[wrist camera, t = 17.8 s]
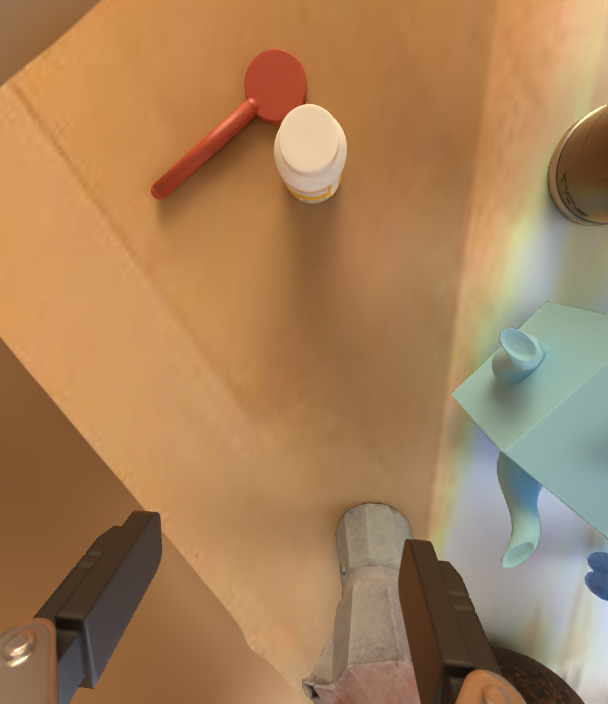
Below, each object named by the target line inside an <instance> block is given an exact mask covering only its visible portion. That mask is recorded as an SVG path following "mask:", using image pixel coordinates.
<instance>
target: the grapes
mask: <svg viewBox="0 0 608 704" xmlns="http://www.w3.org/2000/svg"><path fill="white" fill-rule="evenodd" d="M587 559H588V565H589V566H590V567H591V568H592V570H593V572H589V573H588V574H587V575H586V576H585V583H586V585H587V587H588V588H589V589H590V591H591V592H593V593H594V594H595V595H597V596H598V597H599V598H601V599H603V600H606V601H608V553H605V552H595V553H592V554H590V555H589V557H588V558H587Z"/></svg>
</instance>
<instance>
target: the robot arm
mask: <svg viewBox="0 0 608 704" xmlns="http://www.w3.org/2000/svg"><path fill="white" fill-rule="evenodd" d="M549 189H550V193H551V196H552V199H553V201H554V203H555V205H556V206H557V208H558V209H559V210H560V211H561V212H562V213H563V214H564V215H565V216H566V217H567V218H569V219H571V220H572V221H574V222H577V223H580V224H584V225H591V226H598V225H608V104H607V105H604V106H602V107H600V108H598V109H596V110H594V111H592V112H591V113H589V114H587V115H585V116H584V117H582V118H581V119H580V120H578V121H577V122H576V123H575V124H574V125H573V126H572V127H571V128H570V129H569V130H568V131H567V132H566V133H565V135H564V136H563V137H562V139H561V140H560V142H559V144H558V145H557V147H556V149H555V152H554V154H553V157H552V160H551V163H550V168H549ZM161 556H162V539H161V521H160V514H159V513H158V512H149V511H139V510H135V511H134V512H132V514H131V515H130V516H129V517H128V519H127V520H126V522H125V523H124V524H123V525H122V527H121V526H113V527H112V528H110V529H109V530H108V531H106V532H105V533H104V534H102V535H101V536H99V537H98V538H97V539H96V541H95V542H94V543H93V544H92V546H91V547H90V548H89V550H88V551H87V552H86V555H84V556H83V557H82V558H81V559H80V561H79V562H78V563H77V565H76V567H74V568H73V570H72V571H71V572H70V573H69V574H68V576H67V577H66V578H65V579H64V580H63V582H62V583H61V584H60V585H59V587H58V588H57V589H56V590H55V592H54V593H53V594H52V595H51V597H50V598H49V599H48V601H47V602H46V603H45V604H44V605H43V607H42V608H41V609H40V610H39V611H38V613H37V614H36V615H35V616H34V617H33V618H32V619H28V620H25V621H23V622H20V623H18V624H16V625H14V626H12V627H11V628H9V629H8V630H6V631H5V632H3V633H2V634H1V635H0V704H69V702H70V701H71V699H72V697H73V695H74V694H75V692H76V690H77V689H78V687H83V688H91V689H94V687H95V686H96V684H97V682H98V680H99V678H100V676H101V674H102V672H103V671H104V669H105V667H106V665H107V663H108V661H109V659H110V658H111V655H112V654H113V652H114V650H115V648H116V646H117V644H118V643H119V641H120V639H121V637H122V635H123V633H124V631H125V629H126V627H127V626H128V624H129V622H130V620H131V618H132V617H133V615H134V613H135V611H136V609H137V607H138V605H139V603H140V601H141V600H142V598H143V596H144V594H145V592H146V590H147V588H148V586H149V585H150V583H151V581H152V579H153V577H154V575H155V574H156V571H157V569H158V567H159V564H160V560H161ZM398 593H399V600H400V605H401V610H402V615H403V620H404V625H405V630H406V635H407V640H408V644H409V649H410V654H411V659H412V664H413V669H414V674H415V679H416V684H417V688H418V693H419V698H420V703H421V704H526V702H525V700H524V699H523V697H522V696H521V694H520V693H519V692H518V691H517V690H516V688H515V687H514V686H513V685H511V684H510V683H509V682H508V681H507V680H506V679H504V677H503V676H502V674H501V672H500V669H499V667H498V665H497V662H496V660H495V657H494V655H493V652H492V650H491V647H490V645H489V643H488V640H487V638H486V635H485V633H484V630H483V628H482V625H481V623H480V621H479V618H478V616H477V613H475V608H474V606H473V603H472V601H471V599H470V598H469V594H468V591H467V589H466V586H465V584H464V582H463V579H462V577H461V576H460V574H459V573H458V572H457V571H456V570H455V568H454V567H453V566H452V565H451V564H450V562H448V561H438V559H437V556H436V553H435V551H434V548H433V545H432V543H431V542H430V541H425V540H415V539H405V542H404V547H403V553H402V558H401V564H400V570H399V576H398Z"/></svg>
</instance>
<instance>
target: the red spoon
mask: <svg viewBox="0 0 608 704" xmlns="http://www.w3.org/2000/svg"><path fill="white" fill-rule="evenodd" d="M306 91H307V87H306V78H305V74H304V71H303V68H302V66H301V64H300V63H299V61H298V60H297V59H296V58H295V57H294V56H293V55H292V54H290V53H289V52H287V51H284V50H281V49H270V50H266V51H264V52H262V53H260V54H259V55H258V56H257V57H256V58H255V59H254V60H253V61H252V62H251V64H250V66H249V67H248V70H247V73H246V76H245V94H246V97H247V100H246V101H244V102H243V103H242V104H241V105H240V106H239V107H238V108H237V109H236V110H235V111H233V112H232V113H231V114H230V115H229V116H228V117H227V118H226V119H225V120H224V121H223V122H221V123H220V124H219V125H218V126H217V127H216V128H215V129H214V130H213V131H212V132H210V133H209V134H208V135H207V136H206V137H205V138H204V139H203V140H202V141H201V142H199V143H198V144H197V145H196V146H195V147H194V148H193V149H192V150H191V151H190V152H189V153H187V154H186V155H185V156H184V157H183V158H182V159H181V160H180V161H179V162H178V163H176V164H175V165H174V166H173V167H172V168H171V169H170V170H169V171H168V172H167V173H166V174H164V175H163V176H162V177H161V178H160V179H159V180H158V181H157V182H156V183H155V184H153V186H152V187H151V193H152V195H153V196H154V197H155V198H156V199H159V200H162V199H164V198H166V197H167V196H168V195H169V194H170V193H171V192H172V191H173V190H175V189H176V188H177V187H178V186H179V185H180V184H181V183H182V182H183V181H185V180H186V179H187V178H188V177H189V176H190V175H191V174H192V173H194V172H195V171H196V170H197V169H198V168H199V167H200V166H201V165H203V164H204V163H205V162H206V161H207V160H208V159H209V158H210V157H211V156H213V155H214V154H215V153H216V152H217V151H218V150H219V149H220V148H222V147H223V146H224V145H225V144H226V143H227V142H228V141H229V140H231V139H232V138H233V137H234V136H235V135H236V134H237V133H238V132H239V131H241V130H242V129H243V128H244V127H245V126H246V125H247V124H248V123H250V122H251V121H252V120H253V119H254V118H255V117H256V116H258V117H259V118H260V119H262V120H263V121H265V122H268V123H271V124H281V123H282V122H283V120H284V118H285V117H286V116H287V114H288V113H289V112H290V111H292V110H293V109H295V108H296V107H298V106H301V105H303V104H304V102H305V98H306Z"/></svg>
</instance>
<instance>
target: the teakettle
mask: <svg viewBox="0 0 608 704" xmlns="http://www.w3.org/2000/svg"><path fill="white" fill-rule="evenodd" d="M500 342H501V346H500V347H499V348H498V349H497V350H496V351H495V352H494V353H493V354H492V355H491V356H490V357H489V358H488V359H487V360H486V361H485V362H484V363H483V364H482V365H481V366H480V367H479V368H478V369H477V370H476V371H475V372H474V373H473V374H472V375H471V376H470V377H468V378H467V379H466V380H465V381H464V382H463V383H462V384H461V385H460V386H459V387H458V388H457V389H456V390H455V391H454V392H453V393H452V394H451V395H452V396H453V397H454V398H455V399H456V400H457V401H458V403H459V404H460V405H461V406H462V407H463V408H464V409H465V411H466V412H467V413H468V414H469V415H470V416H471V417H472V419H473V420H474V421H475V422H476V423H477V424H478V425H479V427H480V428H481V429H482V430H483V431H484V432H485V433H486V435H487V436H488V437H489V438H490V439H491V440H492V441H493V442H494V444H495V445H496V446H497V447H498V448H499V449H500V450H501V451H500V454H499V458H498V461H497V474H498V480H499V483H500V486H501V489H502V492H503V495H504V497H505V500H506V503H507V505H508V508H509V512H510V516H511V521H512V533H511V539H510V542H509V544H508V546H507V549H506V551H505V553H504V555H503V558H502V566H503V567H504V568H513V567H516V566H518V565H519V564H521V563H522V562H524V561H525V560H526V559H527V558H528V557H529V556H530V555H531V554H532V553H533V552H534V550H535V549H536V547H537V545H538V542H539V538H540V529H541V526H540V519H539V514H538V509H537V499H538V495H539V492H540V490H541V488H542V487H543V486H544V487H545V488H546V489H548V490H549V491H550V492H551V493H553V494H554V495H555V496H556V497H557V498H559V499H560V500H561V501H562V502H563V503H565V504H566V505H567V506H568V507H570V508H571V509H572V510H573V511H574V512H576V513H577V514H578V515H579V516H581V517H582V518H583V519H584V520H585V521H587V522H588V523H589V524H590V525H591V526H593V527H594V528H595V529H596V530H598V531H599V532H600V533H601V534H602V535H604V536H605V537H606V538H607V539H608V315H607V314H603V313H598V312H594V311H589V310H585V309H580V308H575V307H571V306H566V305H562V304H557V303H552V302H548V301H546V302H545V303H544V304H543V305H542V306H541V307H540V308H539V309H538V310H537V311H536V312H535V313H534V314H533V315H532V316H531V317H530V318H529V319H528V320H527V321H526V322H525V323H524V324H523V325H522V326H521V327H520V328H519V329H515V328H506V329H504V330H503V331H502V332H501V334H500Z"/></svg>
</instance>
